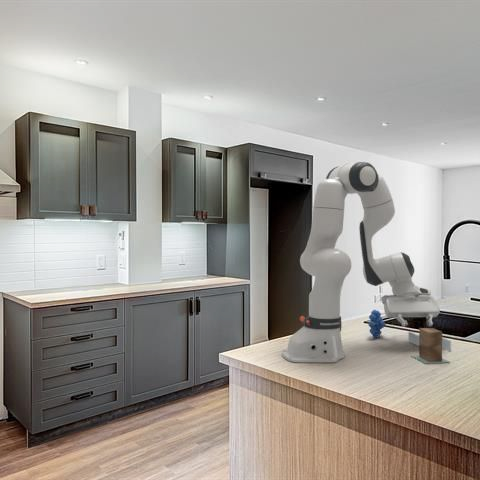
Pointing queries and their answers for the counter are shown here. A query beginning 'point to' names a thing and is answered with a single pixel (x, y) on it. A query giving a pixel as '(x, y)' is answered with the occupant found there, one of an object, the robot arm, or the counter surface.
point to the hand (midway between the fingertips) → (417, 325)
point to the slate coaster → (429, 362)
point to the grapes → (376, 323)
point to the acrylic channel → (415, 340)
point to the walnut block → (430, 344)
